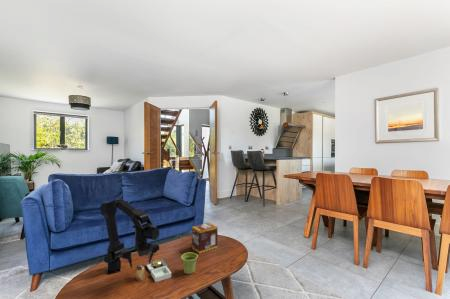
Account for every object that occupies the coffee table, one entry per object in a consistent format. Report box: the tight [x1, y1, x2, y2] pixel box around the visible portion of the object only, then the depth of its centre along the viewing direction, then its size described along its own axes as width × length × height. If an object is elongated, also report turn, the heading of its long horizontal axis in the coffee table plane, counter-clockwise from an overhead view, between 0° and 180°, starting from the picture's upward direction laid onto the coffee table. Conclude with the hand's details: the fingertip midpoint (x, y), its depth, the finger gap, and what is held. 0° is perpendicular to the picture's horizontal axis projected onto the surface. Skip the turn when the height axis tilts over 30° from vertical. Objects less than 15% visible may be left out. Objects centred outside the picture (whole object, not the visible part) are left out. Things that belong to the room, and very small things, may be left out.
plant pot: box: [180, 252, 199, 275], centre depth 125 cm, size 9×9×9 cm
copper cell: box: [136, 264, 146, 282], centre depth 118 cm, size 4×4×7 cm
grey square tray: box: [145, 259, 169, 274], centre depth 130 cm, size 10×10×1 cm
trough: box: [150, 266, 172, 283], centre depth 121 cm, size 9×9×2 cm
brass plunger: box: [151, 259, 162, 268], centre depth 130 cm, size 5×5×2 cm
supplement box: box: [191, 222, 218, 254], centre depth 156 cm, size 10×15×16 cm
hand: (140, 265), depth 118 cm, fingers open, 9 cm apart
